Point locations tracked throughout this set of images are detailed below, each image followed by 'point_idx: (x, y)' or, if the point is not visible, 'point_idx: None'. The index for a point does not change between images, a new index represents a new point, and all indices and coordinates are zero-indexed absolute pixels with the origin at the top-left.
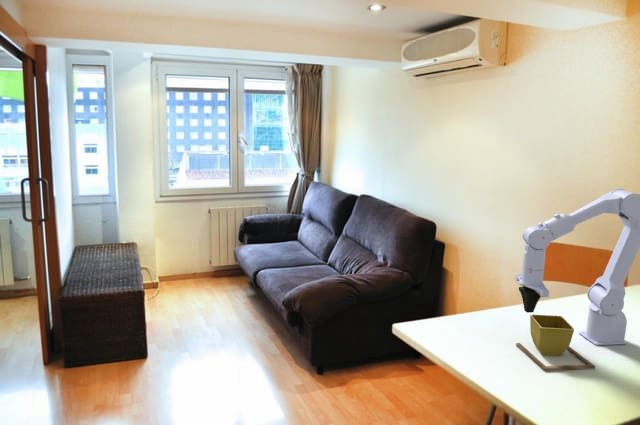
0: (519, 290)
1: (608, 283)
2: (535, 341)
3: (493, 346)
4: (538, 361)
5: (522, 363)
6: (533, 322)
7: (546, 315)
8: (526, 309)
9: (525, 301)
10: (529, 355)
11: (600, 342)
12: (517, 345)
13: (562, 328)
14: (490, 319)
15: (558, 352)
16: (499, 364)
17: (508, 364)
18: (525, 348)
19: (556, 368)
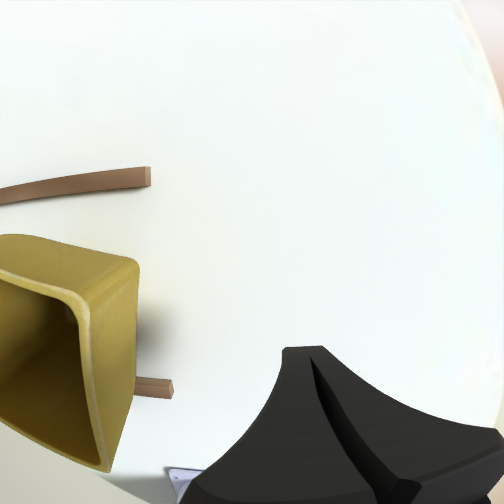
0: (473, 428)
1: None
2: (74, 246)
3: (156, 54)
4: (5, 194)
5: (21, 134)
6: (33, 268)
7: (89, 412)
8: (285, 356)
9: (309, 397)
10: (41, 180)
11: (180, 483)
12: (134, 168)
13: (78, 415)
14: (461, 193)
15: (47, 312)
16: (32, 51)
17: (25, 81)
18: (90, 189)
19: None
